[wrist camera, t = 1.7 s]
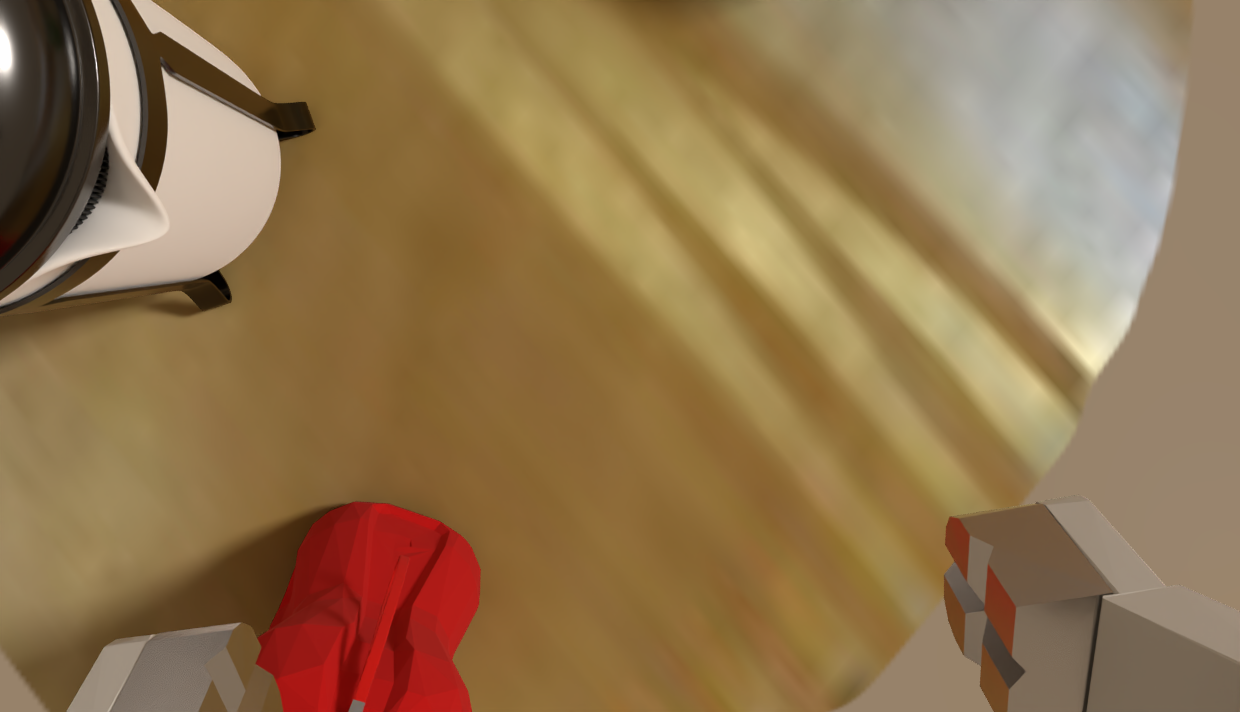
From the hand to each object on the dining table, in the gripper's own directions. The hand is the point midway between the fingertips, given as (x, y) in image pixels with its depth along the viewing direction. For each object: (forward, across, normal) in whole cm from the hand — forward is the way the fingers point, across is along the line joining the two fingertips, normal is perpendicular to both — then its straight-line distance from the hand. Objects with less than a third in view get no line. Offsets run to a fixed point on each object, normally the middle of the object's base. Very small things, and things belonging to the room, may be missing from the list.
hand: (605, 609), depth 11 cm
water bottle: (+32, +13, +24) cm, 42 cm away
